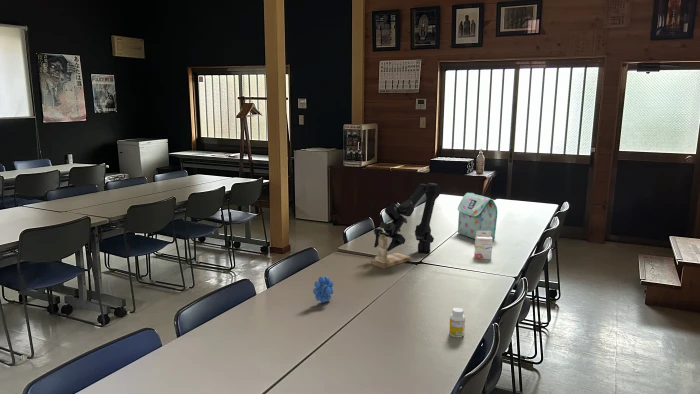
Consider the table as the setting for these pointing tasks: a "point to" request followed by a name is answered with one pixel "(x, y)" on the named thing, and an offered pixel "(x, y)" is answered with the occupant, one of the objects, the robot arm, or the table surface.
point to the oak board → (392, 260)
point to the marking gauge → (382, 250)
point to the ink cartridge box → (483, 245)
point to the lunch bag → (476, 215)
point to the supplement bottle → (457, 323)
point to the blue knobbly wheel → (323, 289)
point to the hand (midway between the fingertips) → (381, 249)
